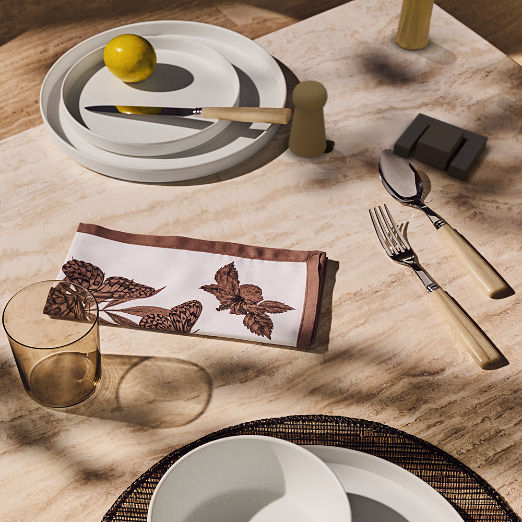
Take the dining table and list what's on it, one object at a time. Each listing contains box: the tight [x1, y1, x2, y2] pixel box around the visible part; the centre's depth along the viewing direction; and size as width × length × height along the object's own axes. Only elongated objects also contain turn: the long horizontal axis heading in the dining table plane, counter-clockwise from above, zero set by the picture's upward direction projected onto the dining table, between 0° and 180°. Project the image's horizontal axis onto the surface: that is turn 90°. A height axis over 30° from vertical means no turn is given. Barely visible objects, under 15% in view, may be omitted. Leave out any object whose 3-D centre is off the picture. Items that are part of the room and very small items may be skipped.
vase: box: [394, 0, 435, 51], centre depth 121 cm, size 6×6×14 cm
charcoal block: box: [413, 121, 464, 171], centre depth 105 cm, size 5×6×4 cm
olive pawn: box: [288, 79, 329, 158], centre depth 104 cm, size 6×6×11 cm
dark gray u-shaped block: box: [392, 112, 489, 181], centre depth 106 cm, size 12×9×2 cm
